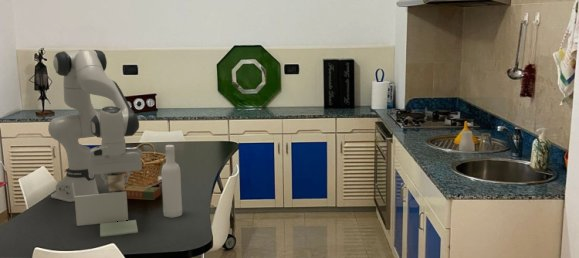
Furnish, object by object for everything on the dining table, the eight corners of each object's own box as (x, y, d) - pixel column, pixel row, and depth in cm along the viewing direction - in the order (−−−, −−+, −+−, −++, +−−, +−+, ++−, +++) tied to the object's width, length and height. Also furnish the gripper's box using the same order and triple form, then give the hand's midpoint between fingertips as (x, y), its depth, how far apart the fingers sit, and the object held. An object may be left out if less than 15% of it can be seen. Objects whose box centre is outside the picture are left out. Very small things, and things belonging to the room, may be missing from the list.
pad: (100, 236, 223) (100, 235, 222) (100, 225, 236) (100, 223, 236) (137, 232, 227) (137, 231, 227) (135, 221, 240) (135, 219, 240)
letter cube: (108, 191, 225) (107, 176, 224) (108, 187, 230) (107, 172, 229) (125, 189, 227) (124, 174, 226) (124, 186, 232) (123, 171, 231)
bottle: (173, 210, 253) (170, 142, 248) (186, 213, 249) (183, 145, 243) (159, 215, 247) (155, 146, 241) (172, 219, 242) (169, 148, 237)
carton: (130, 193, 281) (129, 185, 280) (161, 195, 277) (161, 186, 277) (122, 198, 273) (121, 189, 272) (154, 200, 269) (153, 191, 269)
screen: (76, 225, 235) (74, 197, 233) (77, 224, 237) (74, 196, 234) (128, 220, 241) (126, 192, 239) (128, 219, 243) (126, 191, 240)
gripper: (141, 145, 232) (143, 179, 234) (86, 149, 226) (89, 184, 228) (142, 148, 226) (144, 182, 228) (86, 152, 220) (89, 188, 222)
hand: (116, 183), depth 228 cm, fingers closed on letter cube, 6 cm apart
